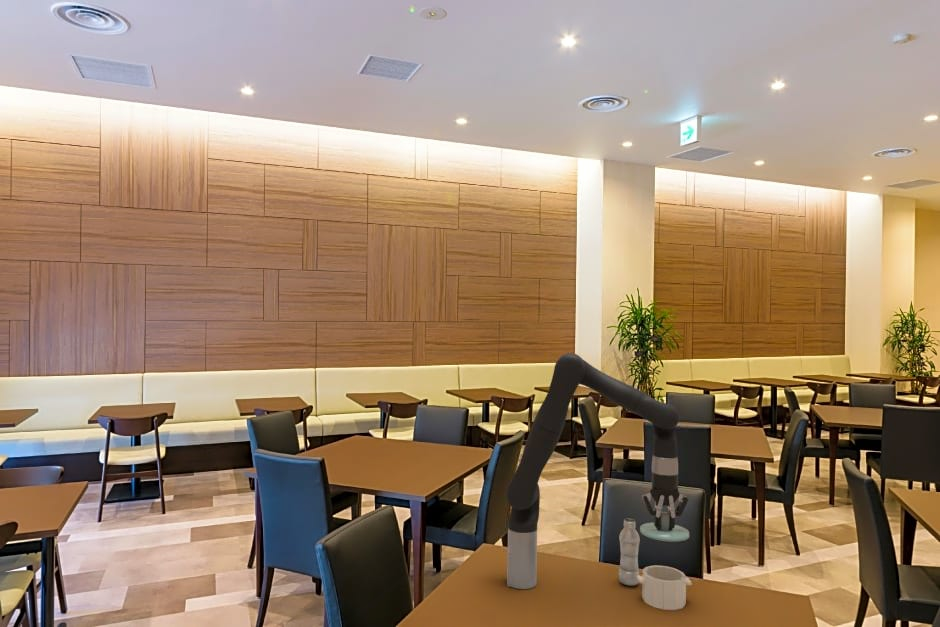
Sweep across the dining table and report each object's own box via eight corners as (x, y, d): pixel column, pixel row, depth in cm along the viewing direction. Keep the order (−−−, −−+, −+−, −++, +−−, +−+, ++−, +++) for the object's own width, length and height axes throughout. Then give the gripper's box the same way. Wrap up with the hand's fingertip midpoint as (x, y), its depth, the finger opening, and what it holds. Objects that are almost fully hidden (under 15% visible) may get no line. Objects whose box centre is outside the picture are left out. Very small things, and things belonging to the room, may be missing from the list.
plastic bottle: (637, 580, 196) (638, 517, 197) (641, 589, 190) (642, 524, 190) (616, 579, 197) (617, 516, 197) (620, 587, 190) (620, 523, 191)
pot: (642, 608, 176) (642, 580, 176) (633, 590, 188) (633, 564, 188) (696, 610, 175) (696, 582, 176) (683, 592, 187) (683, 566, 188)
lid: (645, 540, 176) (645, 519, 176) (635, 524, 190) (636, 505, 190) (695, 542, 175) (695, 521, 175) (681, 526, 189) (682, 507, 189)
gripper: (644, 473, 179) (643, 532, 179) (692, 474, 178) (692, 534, 178) (638, 467, 187) (637, 524, 186) (685, 469, 186) (684, 526, 186)
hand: (664, 529), depth 182 cm, fingers closed on lid, 3 cm apart
